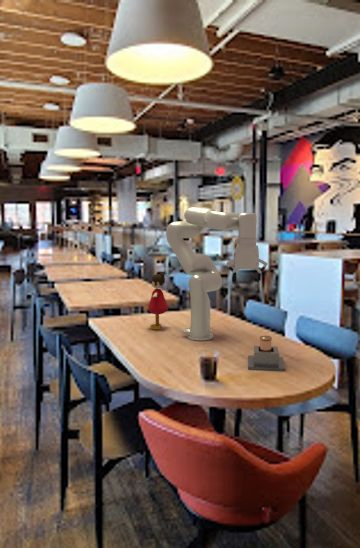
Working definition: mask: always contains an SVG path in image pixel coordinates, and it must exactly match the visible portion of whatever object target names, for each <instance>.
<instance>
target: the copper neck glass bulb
mask: <svg viewBox="0 0 360 548" xmlns="http://www.w3.org/2000/svg"><path fill="white" fill-rule="evenodd" d="M259 340H260V341H259V343H260V345H259V346H260V352H271V346H272V340H273V337H272V336H270V335H260V336H259Z"/></svg>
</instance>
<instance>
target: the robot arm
mask: <svg viewBox="0 0 360 548" xmlns="http://www.w3.org/2000/svg"><path fill="white" fill-rule="evenodd" d="M257 218H258V217H257V213H254V212H220V211H219V212H218V211H216V210H215V209H213V208H209V207H206V206H205V207H204V206H192V207H188V208H186V210H185V211H184V213H183V219H184V220H182V221H181V220H179V221H178V220H176V221H172V222H171V223H169V224H168V225H167V227H166V232H165V237H166V241H167V243H168V245H169V247H170V248H171V250H172V251H173V253H174V254H175V257H176V258H177V260H178V261H179V264H180V266H181V268H182V270H183V271H184V273H185V274H187V275H191V276H190V277H189V279H188V283H187V284H188V290H189V294H190V327H188V328H181V332H182V333H183V334H187V338H188V339H189V340H192V341H199V342H200V341H201V342H202V341H203V342H204V341H209V340H212V339H214V334H213V333H212V332H211V299H210V297H209V294H208V293H210V292H214V291H218V290H220V288H221V287H222V285H223V280H222V277H221V275H220V273H219V271H218V269H217V267H216V265H215V264H214V261H213V260H212V258H211V257H210V256H208V255H207V254H204V253H200V254H199V253H198V254H197V253H196V252H194V249H192V247H191V245H190V244H189V243H188V242H187V241H186V240H184V239H193V238H197V237H198V236H199V235H200V234H201V233H202V232H203V231H204V230H205V229H206V228H208V229H211V230H218V231H238V237H237V239H234V243H236V244H237V245H236V247H235V252H234V253H235V254H234V258H233V259H230V260H229V261H227V262H226V265H227V267H228V270H230V271H231V272H232V281H234V283H236V282H237V272H238V270H256V271H257V273H256V275H257V276H256V283H260V281H261V277H262V273H263V272H264V271H265V270H266V268H267V266H268V264H269V263H268V262H266V261H264V260H263V259H261V258H260V252H259V251H260V250H259V245H257V224H258V223H257V222H258V220H257ZM232 264H234V268H233V266H232ZM260 264H262V267H261V268H260Z"/></svg>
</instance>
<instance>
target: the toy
mask: <svg viewBox="0 0 360 548" xmlns="http://www.w3.org/2000/svg"><path fill="white" fill-rule="evenodd" d="M165 281H166V278H165V273H164V272H160V273H159V274H158V273H157V274H156V273H155V274H154V275H152V276H151V285H152V288H153V289H154V290H153V291H152V292H151V297H150V300H149V303H148V307H147V310H148V312H150V314H152V315H153V314H154V315H155V317H154V318H155V323H154V324H150V325H149V330H150V329H160V330H161V327H162V324H161V323H160V315H163V314H165V313H166V312H167V311H168V310H169V305H168V302H167V299H166V298H165V295H164V292H163V290H162V286H163V285H164V284H165Z"/></svg>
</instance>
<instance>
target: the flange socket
mask: <svg viewBox="0 0 360 548" xmlns="http://www.w3.org/2000/svg"><path fill="white" fill-rule="evenodd" d="M247 370H250V371H251V370H252V371H254V370H255V371H273V372H274V371H275V372H276V371H277V372H286V364H285V361H284V358H283V356H280V352H279V347H278V346H273V345H271V352H260V345H253V355H247Z"/></svg>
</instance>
